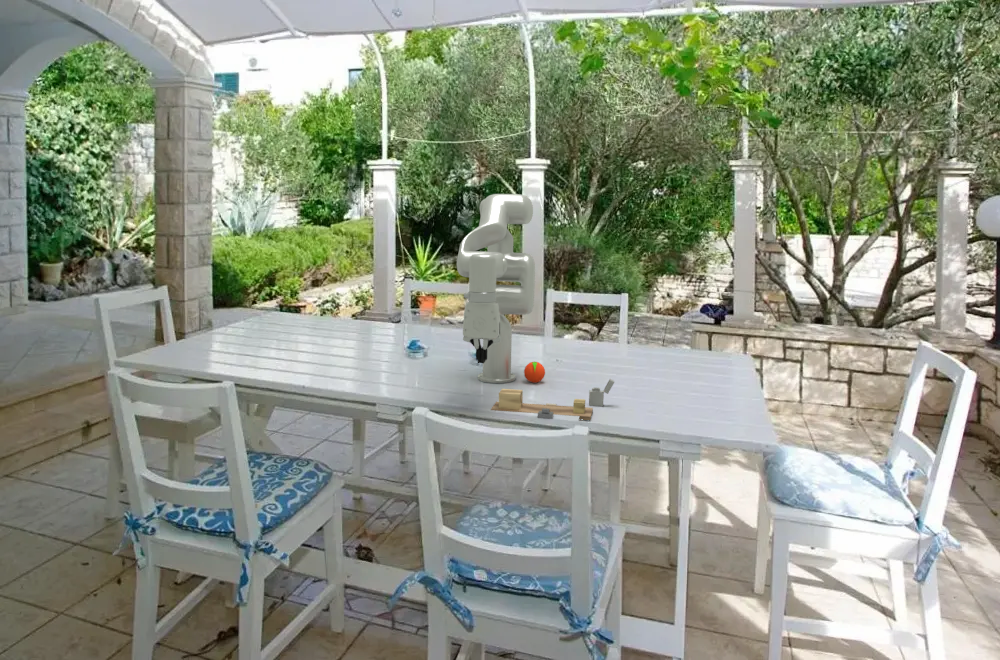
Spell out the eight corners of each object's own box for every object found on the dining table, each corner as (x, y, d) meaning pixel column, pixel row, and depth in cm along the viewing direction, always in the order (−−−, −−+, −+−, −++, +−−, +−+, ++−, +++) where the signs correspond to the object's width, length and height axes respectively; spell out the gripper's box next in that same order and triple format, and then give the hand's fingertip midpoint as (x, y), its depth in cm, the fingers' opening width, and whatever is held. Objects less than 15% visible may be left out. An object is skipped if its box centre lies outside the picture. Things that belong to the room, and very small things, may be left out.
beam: (497, 404, 219) (497, 390, 218) (592, 410, 214) (593, 396, 213) (489, 415, 207) (489, 401, 206) (590, 422, 202) (590, 407, 201)
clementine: (545, 386, 240) (545, 364, 239) (523, 385, 240) (524, 364, 239) (544, 380, 248) (544, 359, 247) (523, 379, 248) (524, 358, 247)
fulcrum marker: (538, 419, 204) (539, 407, 203) (553, 420, 203) (553, 408, 203) (537, 421, 202) (537, 409, 201) (552, 422, 201) (552, 410, 200)
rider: (501, 403, 215) (502, 388, 214) (522, 405, 213) (522, 389, 213) (498, 408, 210) (498, 393, 209) (519, 409, 209) (519, 394, 208)
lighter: (589, 405, 218) (590, 379, 217) (588, 404, 220) (589, 377, 219) (613, 406, 218) (614, 380, 216) (612, 404, 220) (614, 378, 218)
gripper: (453, 298, 205) (452, 363, 208) (506, 300, 203) (505, 366, 205) (459, 295, 213) (459, 358, 215) (511, 297, 210) (509, 361, 213)
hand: (481, 362), depth 210 cm, fingers closed
